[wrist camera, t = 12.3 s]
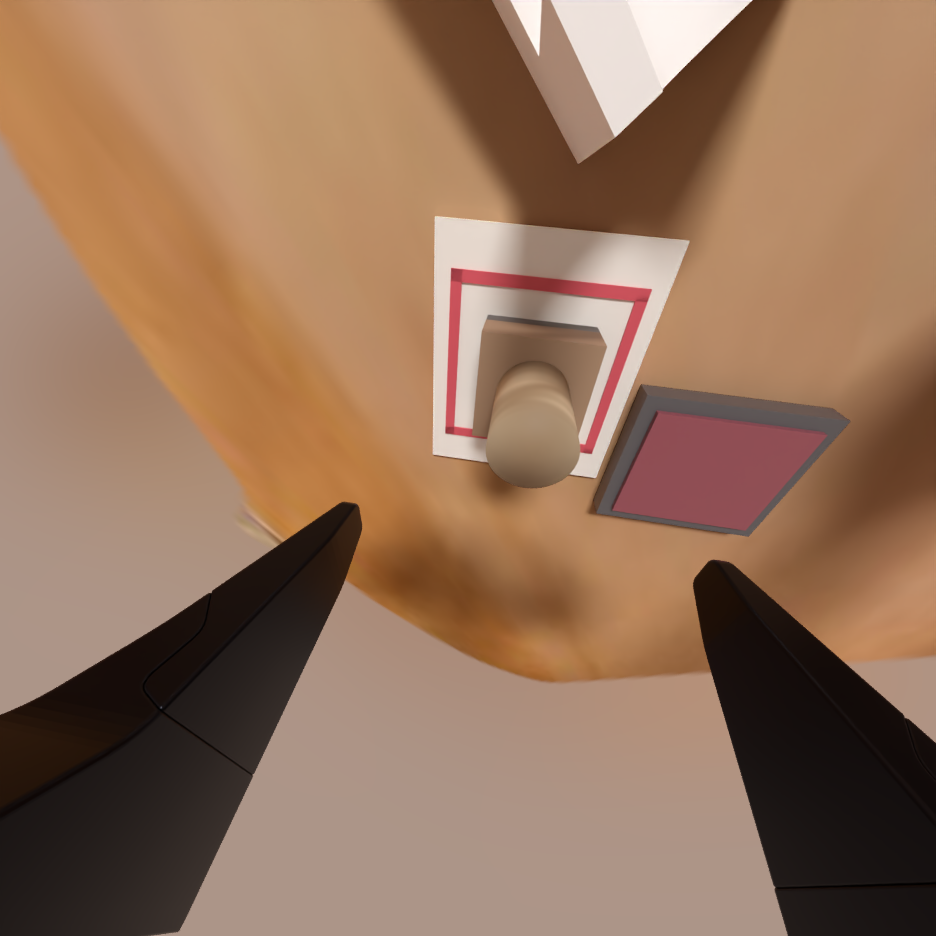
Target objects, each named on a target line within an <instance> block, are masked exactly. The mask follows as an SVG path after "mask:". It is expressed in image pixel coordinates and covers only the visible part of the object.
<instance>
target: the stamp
mask: <svg viewBox="0 0 936 936" xmlns="http://www.w3.org/2000/svg"><path fill="white" fill-rule="evenodd" d="M606 349H607V345H606V343H605V341H604V339H603V337H602V335H601V333H600V331H599V329H598V327H592V326H583V325H574V324H566V323H557V322H548V321H540V320H531V319H522V318H514V317H505V316H496V315H488V316H487V319H486V321H485V324H484V327H483V329H482V333H481V343H480V354H479V365H478V376H477V386H476V397H475V408H474V419H473V430H472V435H474V436H481V437H488V438H487V443H486V458H487V461H488V463H489V466H490V467H491V469H492V470H493V471H494V473H495V474H496V475H497V476H499V477H500V478H501V479H503V480H504V481H506V482H508V483H510V484H512V485H515V486H518V487H523V488H542V487H547V486H550V485H553V484H555V483H558V482H559V481H561V480H563V479H564V478H565V477H567V476H568V475H569V474H570V473H571V472H572V471H573V469H574V468H575V466H576V465H577V463H578V460H579V457H580V442H579V437H578V435H579V432H580V429H581V426H582V423H583V420H584V417H585V414H586V411H587V408H588V405H589V401H590V398H591V395H592V392H593V389H594V386H595V383H596V380H597V377H598V374H599V371H600V367H601V364H602V361H603V358H604V355H605V352H606Z"/></svg>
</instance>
